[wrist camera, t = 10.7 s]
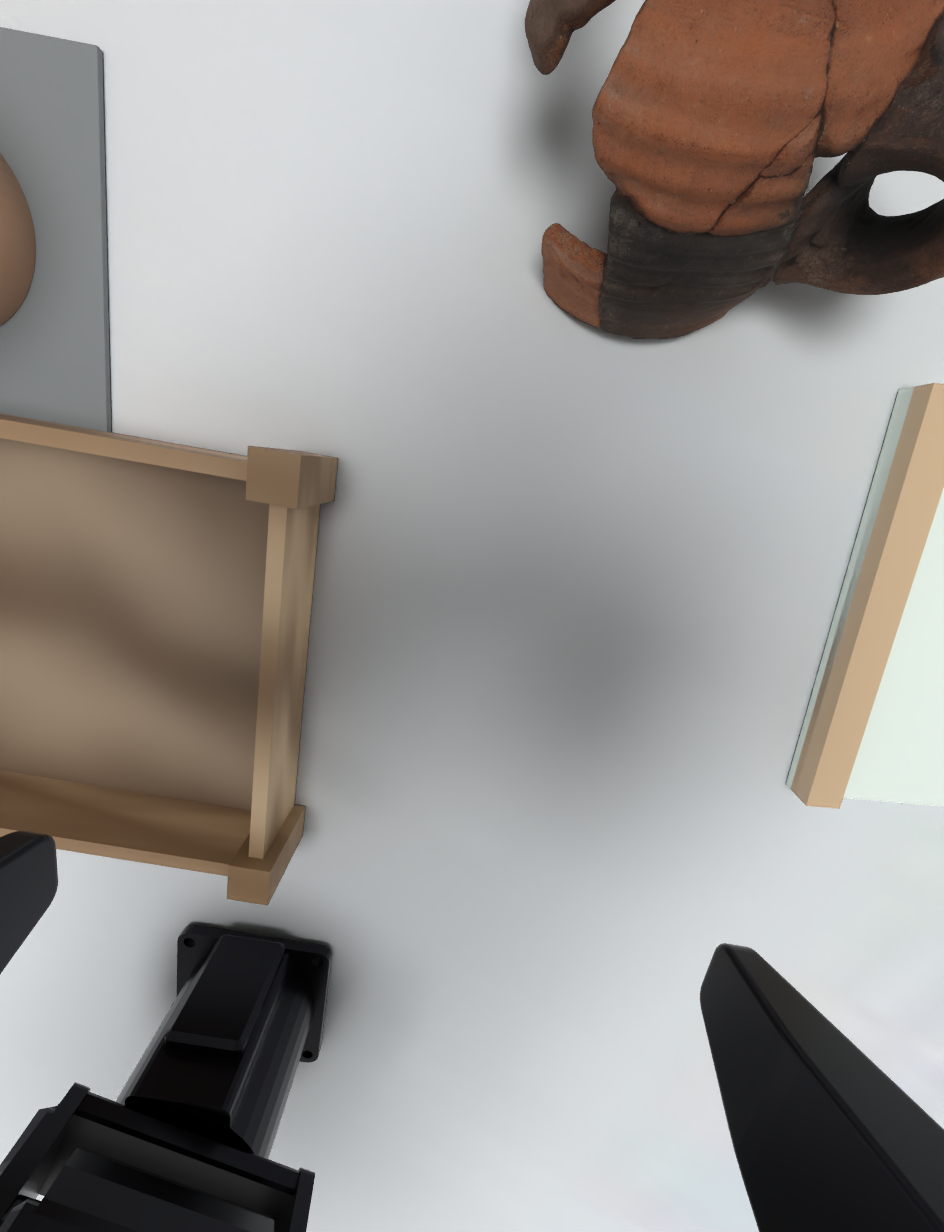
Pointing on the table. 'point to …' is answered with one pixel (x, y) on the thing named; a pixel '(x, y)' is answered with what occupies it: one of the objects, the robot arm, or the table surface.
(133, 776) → the brown wooden tray
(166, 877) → the table surface
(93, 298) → the slate mat
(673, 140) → the brown creature figurine
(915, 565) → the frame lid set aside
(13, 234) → the terracotta pot
